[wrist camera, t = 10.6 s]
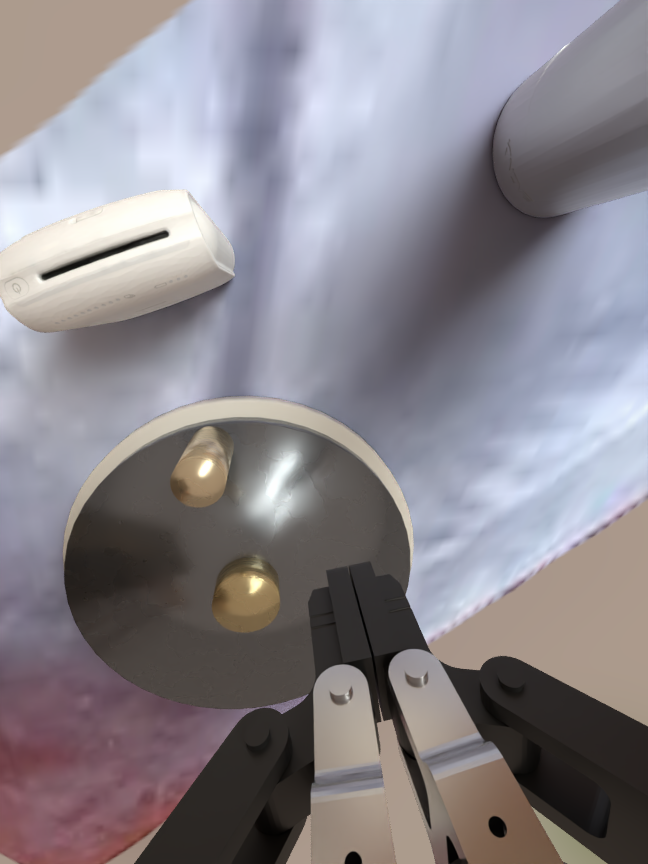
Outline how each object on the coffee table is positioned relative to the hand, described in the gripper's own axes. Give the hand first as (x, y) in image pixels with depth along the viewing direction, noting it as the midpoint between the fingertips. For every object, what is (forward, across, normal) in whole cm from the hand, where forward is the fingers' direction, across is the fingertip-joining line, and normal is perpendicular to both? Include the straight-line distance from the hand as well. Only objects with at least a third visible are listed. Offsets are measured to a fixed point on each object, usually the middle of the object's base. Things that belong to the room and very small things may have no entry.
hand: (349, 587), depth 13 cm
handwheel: (+18, +7, +12) cm, 23 cm away
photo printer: (+21, +8, -12) cm, 25 cm away
